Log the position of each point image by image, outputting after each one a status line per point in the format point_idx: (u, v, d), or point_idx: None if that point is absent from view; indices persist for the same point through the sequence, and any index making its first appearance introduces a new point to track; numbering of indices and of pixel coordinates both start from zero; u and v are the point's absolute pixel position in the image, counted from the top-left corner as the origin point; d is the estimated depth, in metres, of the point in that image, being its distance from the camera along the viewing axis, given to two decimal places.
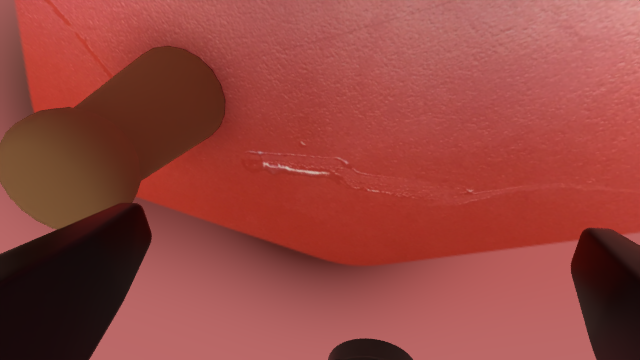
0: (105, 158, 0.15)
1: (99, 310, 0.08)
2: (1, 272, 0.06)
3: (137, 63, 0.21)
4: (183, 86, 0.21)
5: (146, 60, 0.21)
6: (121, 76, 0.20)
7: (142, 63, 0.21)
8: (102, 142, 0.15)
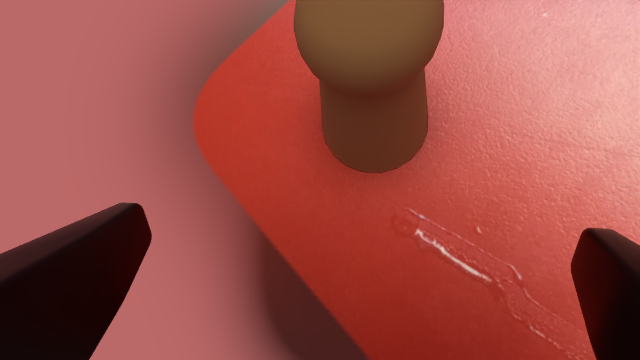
0: (442, 10, 0.13)
1: (99, 310, 0.08)
2: (1, 272, 0.06)
3: None
4: None
5: None
6: None
7: None
8: (442, 3, 0.13)
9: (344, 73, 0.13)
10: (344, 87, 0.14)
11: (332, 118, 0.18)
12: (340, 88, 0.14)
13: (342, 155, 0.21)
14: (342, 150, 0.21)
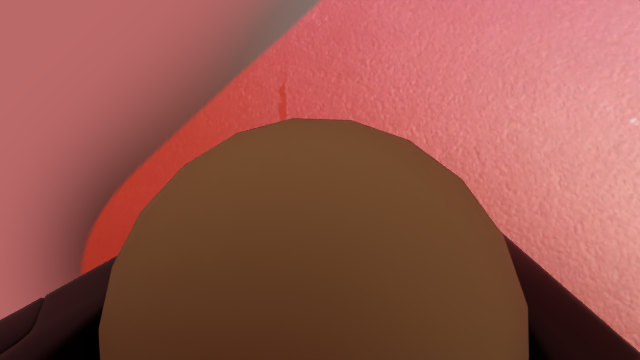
0: None
1: None
2: None
3: None
4: None
5: None
6: None
7: None
8: None
9: None
10: None
11: None
12: None
13: None
14: None
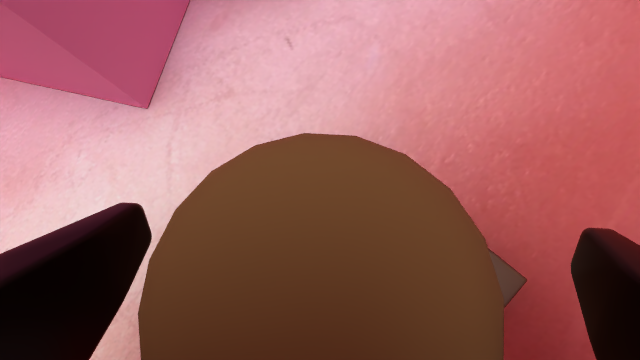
0: None
1: (99, 310, 0.08)
2: (1, 272, 0.06)
3: None
4: None
5: None
6: None
7: None
8: None
9: None
10: None
11: None
12: None
13: None
14: None
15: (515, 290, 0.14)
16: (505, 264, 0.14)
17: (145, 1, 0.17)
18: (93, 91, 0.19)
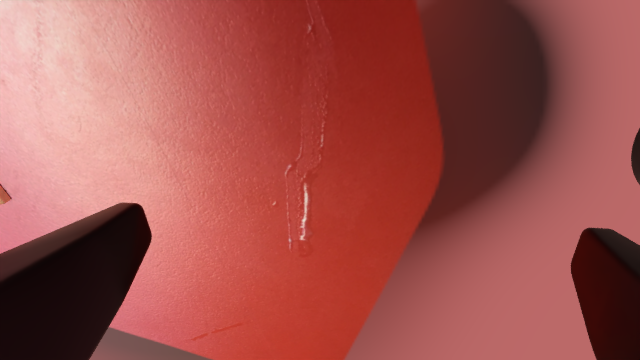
0: None
1: (99, 310, 0.08)
2: (1, 272, 0.06)
3: None
4: None
5: None
6: None
7: None
8: None
9: None
10: None
11: None
12: None
13: None
14: None
15: None
16: None
17: None
18: None
